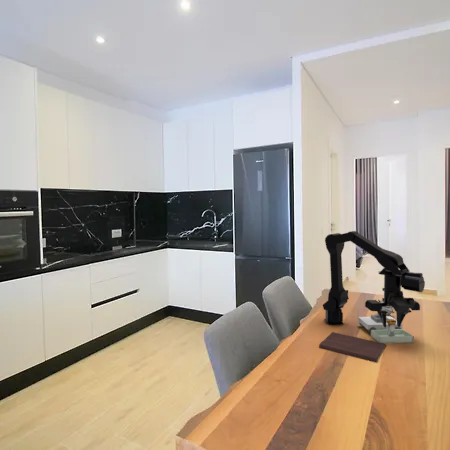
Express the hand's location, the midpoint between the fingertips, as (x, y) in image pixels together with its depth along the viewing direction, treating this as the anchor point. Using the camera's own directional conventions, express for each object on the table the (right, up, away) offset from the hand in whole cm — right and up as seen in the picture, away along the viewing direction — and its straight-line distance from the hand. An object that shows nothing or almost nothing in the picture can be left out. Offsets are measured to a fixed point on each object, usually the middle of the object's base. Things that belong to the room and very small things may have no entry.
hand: (391, 326), depth 126 cm
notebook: (-17, -7, -6) cm, 19 cm away
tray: (0, -5, 0) cm, 5 cm away
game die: (+10, -3, +25) cm, 27 cm away
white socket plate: (0, -4, +10) cm, 11 cm away
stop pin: (0, -4, 0) cm, 4 cm away
